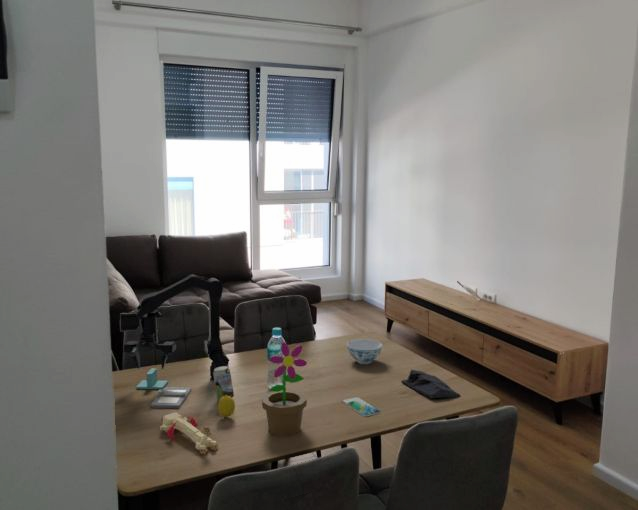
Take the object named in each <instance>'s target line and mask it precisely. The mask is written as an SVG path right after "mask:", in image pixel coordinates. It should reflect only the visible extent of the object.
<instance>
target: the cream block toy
mask: <svg viewBox="0 0 638 510" xmlns="http://www.w3.org/2000/svg"><path fill="white" fill-rule="evenodd" d="M188 419H190V420H189V422H188ZM196 421H197V420H196V419H195V418H194V417H192V416H191V417H190V416H188V417H186V416H185V417H183V416H182V415H181V414H180V413H178V412H177V411H174V412H171V413H169V414H165V415H163V416H162V417H161V422H162V425H159V429H160V430H161V431H162V430H163V431H164V432H165V433H166V434H167V436H168V437H169V438H170V439H172V440H175V439H177V438H176V437H175V436H174V432H175V430H177V431H180V432H181V433H182V434H185V435H186V436H187V437H188V438H190V439H191V441H193V443H195V449H196V450H198V451H199V454H200V455H202V456H203V455H206V453H207V452H208V451H209V449H210V450H211V451H216V450H217V449H218V448H219V444H217V441H216V440H213V438H211V436H212V433H211V430H210V428H209V426H208V425H205V426H203V432H204V433H203V432H201V430H199V429H198V428H197V427H198V423H197V422H196ZM209 447H210V448H209ZM208 448H209V449H208Z"/></svg>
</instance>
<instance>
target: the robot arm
mask: <svg viewBox="0 0 638 510" xmlns="http://www.w3.org/2000/svg"><path fill="white" fill-rule="evenodd" d="M194 287H196V288H198V289H201V290H204V291H205V292H206V296H207V300H208V338H207V340H203V341H204V349H203V350H204V352H205V353H206V355H207V356H208V359H209V360H210V361H211V363H210V366H209V375H210V380H214V376H213V372H214V369H215V368H217V367H221V366H227V367H228V369H229V362H230V359H229V358H228V356H227V354H226V353H225V352H224V349H223V343H222V341H221V337H220V336H221V335H220V334H221V333H220V332H221V329H220V328H221V327H220V326H221V325H220V322H221V321H220V320H221V319H220V318H221V317H220V314H221V313H220V312H221V311H220V302H221V300H222V296H223V289H224V286H223V283H222V282H221V281H219V279H217V278H215V277H210V278H208V277H204V276H199V275H195V274H193V273H192V274H189V275H188V276H186V277H185V278H183V279H181V280H179V281H177V282H175V283H173V284H171V285H169V286H167V287H166V288H163V289H162V290H159V291H154V292H150V293H148V294H144V295H142V296H141V297H140V299H139V304H138V306H137V307H136V309H135V310H134V312H121V313H120V314H119V331H120V333H121V332H133V331H137V330H138V328H140V333H139V340H128V341H127V342H126V343H125V344H123V347H122V352H123V353H126V355H130V356H131V357H132V359H133V361H134V363H135V366H136V367H137V369H138V370H139V369H140V367H141V357H140V356H141V354H145V355H149V354H150V353H151V351H155V350H161V353H160V355H161V370H164V368H165V365H166V362H167V360H168V357H169V355H171V354H173V353H174V351H176V349H177V343H176V342H175V341H165V342H163V344H161V343H160V344H159V339H158V332H159V329H158V322H157V321H158V320H157V319H158V318H161V317H163V315H162V313H161V312H160V311H158V308H160V307H161V306H162V305H163V304H164V303H166V302H167V301H168V300H170V299H172V298H174V297H175V296H178V295H180V294H181V293H184V292H186V291H187V290H189V289H192V288H194ZM229 370H230V369H229Z"/></svg>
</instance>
